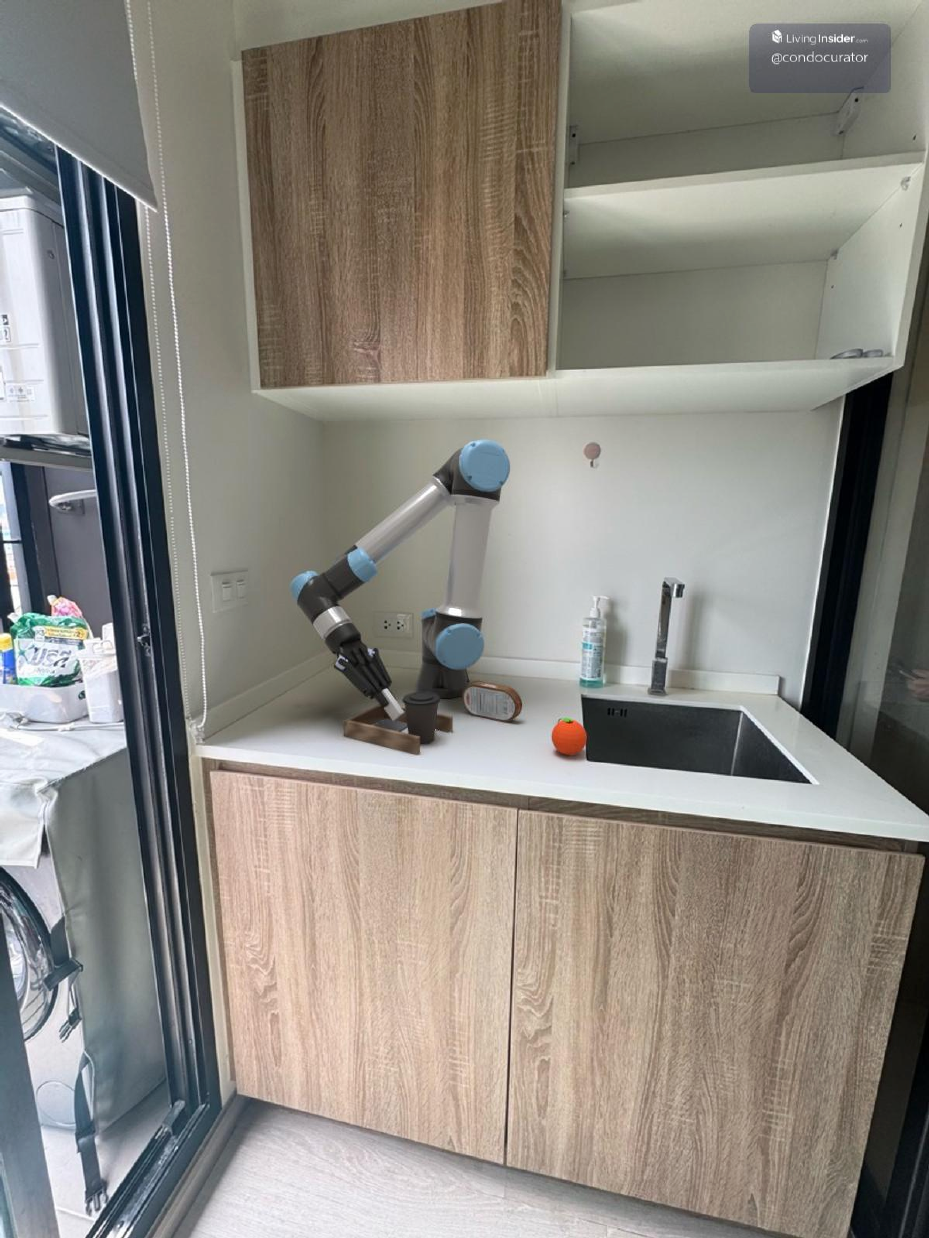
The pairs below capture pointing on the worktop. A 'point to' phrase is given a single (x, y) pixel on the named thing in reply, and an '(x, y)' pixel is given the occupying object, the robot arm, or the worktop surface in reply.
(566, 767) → the worktop surface
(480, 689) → the tin
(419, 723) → the coffee cup
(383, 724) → the pad
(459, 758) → the worktop surface
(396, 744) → the channel
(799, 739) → the worktop surface
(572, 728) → the clementine
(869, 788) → the worktop surface
